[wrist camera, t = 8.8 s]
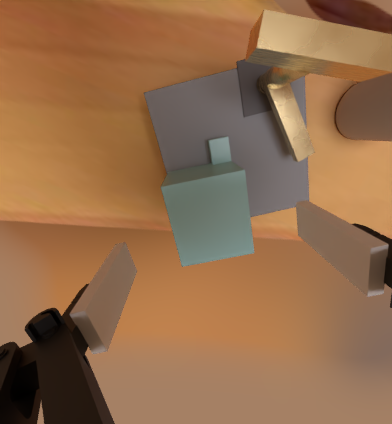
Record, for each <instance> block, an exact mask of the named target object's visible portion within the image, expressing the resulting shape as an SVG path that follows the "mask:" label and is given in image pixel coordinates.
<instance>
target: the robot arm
mask: <svg viewBox="0 0 392 424" xmlns="http://www.w3.org/2000/svg"><path fill="white" fill-rule="evenodd" d="M296 210H297V225H298V235H299V236H300V237H301V238H302V239H303V240H304V241H305V242H306V243H308V244H309V245H310V246H311V247H312V248H313V249H314V250H315V251H317V252H318V253H319V254H320V255H321V256H322V257H323V258H325V260H327V261H328V262H329V263H330V264H331V265H332V266H334V268H336V269H337V270H338V271H339V272H340V273H341V274H343V276H345V277H346V278H347V279H348V280H349V281H350V282H351V283H352V284H353V285H355V286H356V287H357V288H358V289H359V290H360V291H361V292H362V293H364V294H365V295H366V296H367V297H369V296H374V295H379V294H383V292H384V284H387V285H388V286H389V287H391V288H392V239H390V238H388V237H386V236H384V235H381V234H380V233H378V232H376V231H374V230H372V229H370V228H368V227H366V226H363V225H359V224H350V223H348V222H346V221H344V220H342V219H341V218H339V217H337V216H335V215H333V214H331V213H329V212H328V211H326V210H324V209H322V208H320V207H318V206H316V205H315V204H313V203H311V202H309V201H307V200H304V201H300V202H296ZM136 273H137V270H136V267H135V265H134V263H133V260H132V258H131V255H130V253H129V250H128V248H127V245H126V243H125V242H123V243H119V244H116V245H115V246H114V247H113V249H112V250H111V252H110V254H109V255H108V257H107V258H106V260H105V261H104V263H103V264H102V266H101V267H100V269H99V270H98V272H97V273H96V275H95V276H94V278H93V279H92V281H91V282H90V284H86V285H85V286H84V287H83V288H82V289H81V290H80V291H79V292H78V294H77V295H76V297H75V299H73V301H72V302H71V304H70V305H69V307H68V308H67V309H66V311H65V312H64V314H63V315H62V316H61V315H60V313H59V311H58V310H57V309H56V308H50V309H47V310H45V311H43V312H41V313H39V314H38V315H36V316H35V317H33V318H32V319H31V320H30V321H29V322H28V324H27V325H26V326H25V331H26V333H27V334H28V336H29V337H30V338H31V340H32V341H33V342H32V343H30V344H27V345H25V346H23V347H21V348H19V346H18V345H17V344H16V343H15V342H9V343H6V344H4V345H2V346H1V347H0V424H37V420H38V414H39V408H40V403H41V401H42V408H43V417H44V424H115V423H114V421H113V418H112V416H111V414H110V411H109V409H108V407H107V404H106V402H105V399H104V397H103V395H102V392H101V390H100V388H99V385H98V383H97V380H96V378H95V376H94V373H93V371H92V369H91V366H90V364H89V361H88V359H87V357H86V356H85V352H86V350H87V348H88V347H89V348H90V350H91V352H92V353H93V354H97V353H101V352H106V351H108V348H109V345H110V343H111V340H112V337H113V334H114V332H115V329H116V327H117V324H118V321H119V319H120V316H121V313H122V310H123V308H124V305H125V302H126V300H127V297H128V294H129V292H130V289H131V286H132V284H133V281H134V278H135V275H136ZM390 307H391V308H392V295H391V303H390Z"/></svg>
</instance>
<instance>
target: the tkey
mask: <svg viewBox="0 0 392 424" xmlns="http://www.w3.org/2000/svg"><path fill="white" fill-rule="evenodd" d="M245 62H249V63H254V64H260V65H266V66H272V67H271V68H270V69H269V70H268V71H266V72H265V73H264V74H262V75H261V76H260V77H259V79H258V81H257V89H258V91H259V92H260V93H262V94H266V95H267V97H268V100H269V102H270V105H271V107H272V110H273V112H274V114H275V117H276V119H277V122H278V124H279V127H280V129H281V131H282V134H283V136H284V139H285V141H286V144H287V146H288V149H289V151H290V153H291V156H292V158H293V161H296V162H299V161H301V160H303V159H305V158H306V157H308V156H310V155H312V154H313V153H315V151H314V148H313V145H312V143H311V140H310V137H309V134H308V132H307V129H306V126H305V124H304V121H303V118H302V115H301V113H300V110H299V107H298V104H297V102H296V99H295V96H294V94H293V91H292V88H291V85H290V83H291V82H293V81H295V80H297V79H299V78H301V77H303V76H305V75H307V74H309V73H312V74H318V75H324V76H329V77H335V78H341V79H347V80H352V81H358V82H362V81H365V80H369V79H372V78H375V77H379V76H382V75H386V74H389V73H392V35H391V34H386V33H381V32H376V31H371V30H366V29H361V28H356V27H351V26H346V25H341V24H335V23H330V22H325V21H320V20H315V19H310V18H305V17H300V16H295V15H289V14H285V13H279V12H274V11H269V10H263V12H262V14H261V15H260V17H259V18H258V20H257V22H256V23H255V25H254V27H253V28H252V30H251V32H250V37H249V43H248V49H247V54H246V60H245Z"/></svg>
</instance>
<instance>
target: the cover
mask: <svg viewBox="0 0 392 424" xmlns="http://www.w3.org/2000/svg"><path fill="white" fill-rule="evenodd" d="M208 146H209V152H210V158H211V163H209V164H204V165H200V166H195V167H190V168H185V169H180V170H176V171H171V172H168V173H167V175H166V177H165V180H164V182H163V184H162V186H161V190H162V194H163V197H164V201H165V205H166V209H167V212H168V216H169V220H170V224H171V227H172V231H173V235H174V238H175V242H176V246H177V250H178V253H179V257H180V261H181V265H182V267H183V266H189V265H194V264H199V263H204V262H209V261H214V260H220V259H225V258H231V257H236V256H241V255H246V254H252V253H254V247H253V238H252V229H251V220H250V211H249V202H248V193H247V184H246V175H245V170H244V169H243V168H241V167H240V166H238V165H237V164H235V163H234V162H232V161H231V154H230V146H229V139H228V136H225V137H220V138H215V139H210V140H208Z"/></svg>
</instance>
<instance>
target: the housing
mask: <svg viewBox="0 0 392 424" xmlns="http://www.w3.org/2000/svg"><path fill="white" fill-rule="evenodd" d="M245 60H246V59H244V60H241V61H237V62H236V63H237V68H236V69H232V70H228V71H224V72H221V73H217V74H213V75H209V76H205V77H202V78H198V79H194V80H190V81H187V82H183V83H179V84H175V85H171V86H168V87H164V88H160V89H156V90H152V91H149V92H145V93H144V95H145V99H146V102H147V106H148V109H149V113H150V116H151V120H152V123H153V127H154V130H155V134H156V137H157V141H158V144H159V148H160V151H161V155H162V158H163V162H164V165H165V169H166V172H167V173H168V172H171V171H176V170H180V169H185V168H190V167H195V166H200V165H204V164H209V163H211V158H210V152H209V146H208V140H210V139H215V138H220V137H225V136H228V139H229V146H230V154H231V161H232V162H234V163H235V164H237V165H238V166H240V167H241V168H243V169H244V170H245V175H246V184H247V193H248V202H249V211H250V217H254V216H258V215H262V214H267V213H271V212H275V211H280V210H284V209H288V208H293V207H296V202H300V201H304V200H307V201H309V182H308V157H306V158H305V159H303V160H301V161H299V162H296V161H293V158H292V156H291V153H290V151H289V149H288V146H287V144H286V141H285V139H284V136H283V134H282V131H281V129H280V127H279V124H278V122H277V119H276V117H275V114H274V112H273V110H272V107H271V105H270V102H269V100H268V97H267V95H266V94H262V93H260V92H259V91H258V89H257V81H258V79H259V77H260V76H261V75H262V74H264V73H265V72H266V71H268V70H269V69H270V68H271V67H272V66H266V65H260V64H254V63H249V62H245ZM290 85H291V88H292V91H293V94H294V96H295V99H296V102H297V104H298V107H299V110H300V113H301V115H302V118H303V121H304V124H305V126H306V100H305V76H303V77H301V78H299V79H297V80H295V81H293V82H291V83H290ZM306 129H307V128H306Z"/></svg>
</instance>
